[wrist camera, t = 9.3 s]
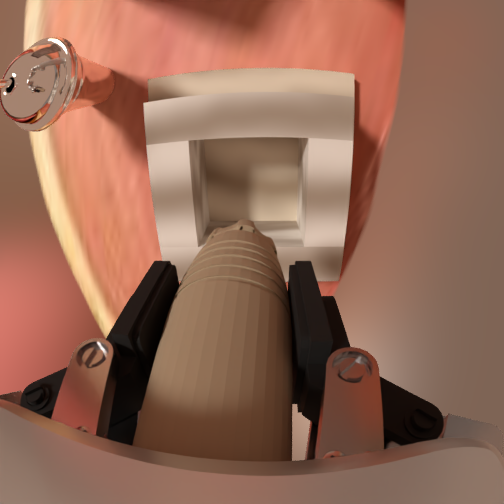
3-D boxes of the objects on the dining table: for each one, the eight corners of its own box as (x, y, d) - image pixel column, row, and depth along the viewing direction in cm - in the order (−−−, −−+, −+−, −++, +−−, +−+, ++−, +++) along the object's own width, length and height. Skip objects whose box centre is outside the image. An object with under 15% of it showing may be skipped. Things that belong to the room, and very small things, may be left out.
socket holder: (152, 80, 23) (120, 73, 17) (350, 75, 23) (377, 65, 16) (172, 268, 34) (153, 304, 27) (337, 268, 33) (353, 305, 26)
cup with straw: (127, 118, 25) (-28, 153, 8) (65, 124, 25) (-75, 168, 7) (134, 45, 21) (-9, 3, 4) (70, 58, 21) (-68, 57, 3)
